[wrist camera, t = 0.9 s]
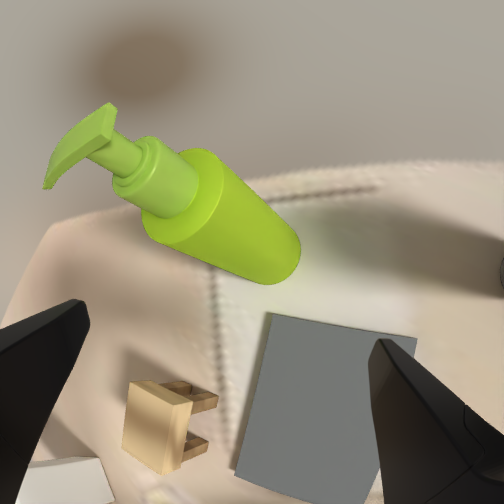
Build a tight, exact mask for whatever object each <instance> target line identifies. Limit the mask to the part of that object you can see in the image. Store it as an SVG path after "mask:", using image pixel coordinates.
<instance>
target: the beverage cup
mask: <svg viewBox="0 0 504 504" xmlns="http://www.w3.org/2000/svg"><path fill="white" fill-rule="evenodd" d="M500 278H501V282H502V286H503V288H504V259H503V261H502V265H501V268H500Z"/></svg>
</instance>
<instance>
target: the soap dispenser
mask: <svg viewBox="0 0 504 504" xmlns="http://www.w3.org/2000/svg"><path fill="white" fill-rule="evenodd" d="M117 110H118V109H117V108H116V107H114V106H113V105H112V104H110V103H107V104H105V105H104V106H102V107H101V108H99V109H98V110H96V111H95V112H93V113H92V114H90V115H89V116H87V117H86V118H85V119H83V120H82V121H80V122H79V123H78V124H77V125H76V126H74V127H73V128H72V129H71V130H70V131H69V132H68V133H67V134H66V135H65V136H64V137H63V138H62V139H61V141H60V142H59V143H58V145H57V146H56V148H55V150H54V151H53V153H52V155H51V158H50V161H49V164H48V168H47V172H46V176H45V180H44V184H43V188H42V189H52V187H53V186H54V184H55V183H56V181H57V180H58V179H59V177H60V176H61V175H62V174H64V173H65V172H66V171H67V170H68V169H69V168H71V167H72V166H73V165H75V164H76V163H78V162H79V161H81V160H82V159H83V158H85V157H86V158H88V159H90V160H92V161H93V162H95V163H97V164H98V165H100V166H102V167H104V168H106V169H107V170H109V171H111V172H112V173H113V178H112V185H113V190H114V192H115V193H116V194H117V195H118V196H119V197H121V198H123V199H124V200H126V201H128V202H130V203H132V204H134V205H136V206H138V207H140V208H141V216H142V223H143V226H144V229H145V231H146V232H147V234H148V235H149V236H150V237H151V238H152V239H153V240H155V241H156V242H159V243H161V244H163V245H166V246H168V247H170V248H173V249H175V250H178V251H180V252H182V253H185V254H187V255H190V256H192V257H194V258H197V259H199V260H202V261H204V262H206V263H209V264H211V265H214V266H216V267H219V268H221V269H224V270H226V271H229V272H231V273H234V274H236V275H238V276H241V277H243V278H246V279H248V280H251V281H253V282H256V283H259V284H263V285H272V284H276V283H279V282H281V281H283V280H285V279H286V278H287V277H289V276H290V275H291V274H292V272H293V271H294V270H295V268H296V266H297V264H298V262H299V259H300V253H301V247H300V242H299V239H298V236H297V235H296V233H295V232H294V231H293V229H292V228H290V227H289V226H288V225H287V224H286V223H285V222H284V221H283V220H282V219H281V218H280V217H279V216H278V215H277V214H276V213H275V212H274V211H273V210H272V209H271V208H270V207H269V206H268V205H267V204H266V203H265V202H264V201H263V200H262V199H261V198H260V197H259V196H258V195H257V194H256V193H255V192H254V191H253V190H252V189H251V188H250V187H249V186H248V185H246V184H245V183H244V182H243V181H242V180H241V179H240V178H239V177H238V176H237V175H236V174H235V173H234V172H233V171H232V170H231V169H230V168H229V167H227V166H226V165H225V164H224V163H223V162H222V161H221V160H220V159H219V158H218V157H217V156H216V155H215V154H213V153H212V152H210V151H208V150H206V149H201V148H193V149H188V150H185V151H182V152H179V153H176V152H174V151H173V150H172V149H171V148H169V147H168V146H167V145H165V144H164V143H163V142H162V141H160V140H159V139H158V138H156V137H153V136H145V137H142V138H140V139H138V140H136V141H135V142H134V143H133V142H132V141H130V140H129V139H127V138H126V137H124V136H123V135H122V134H120V133H119V132H117V131H116V130H114V129H113V127H114V123H115V119H116V114H117Z"/></svg>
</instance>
